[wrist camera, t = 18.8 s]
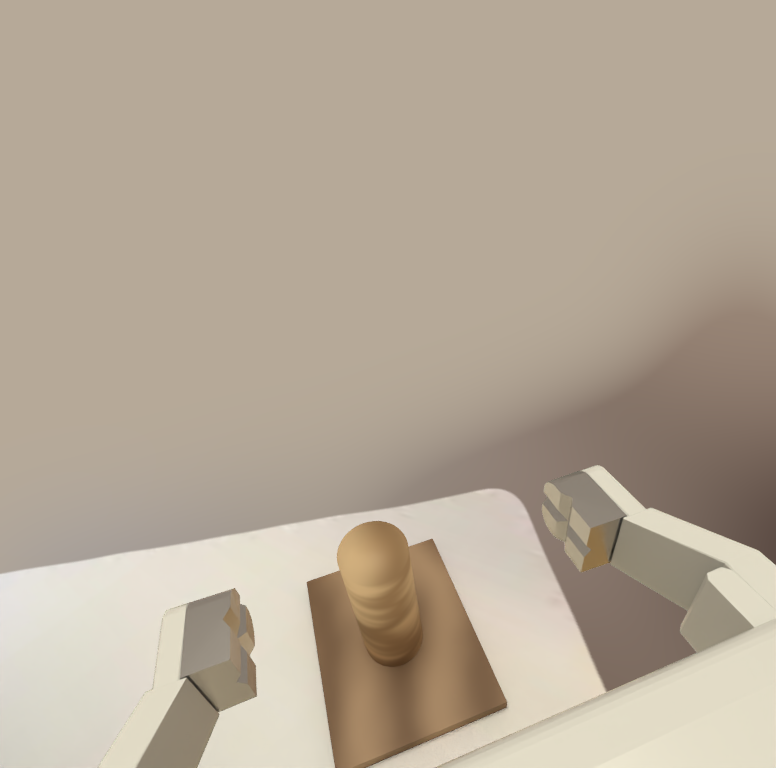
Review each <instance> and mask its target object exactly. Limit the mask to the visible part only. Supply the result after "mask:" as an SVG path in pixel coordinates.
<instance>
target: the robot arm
mask: <svg viewBox="0 0 776 768" xmlns="http://www.w3.org/2000/svg"><path fill="white" fill-rule="evenodd" d="M544 493H545V494H546V495H547V498H546V499H545V501H544V502H543V503H542V514H543V518H544V521H545V523H546V525H547V527H548V529H549V530H550V531H551V533H552V535H553V536H554V537H555V538H557V539H559V540H561V541H564V542H565V552H566V554H567V555H568V556H569V557H570V559H571V560H572V562H573V563H574V564H575V566H576V567H577V568H578V570H579V571H580V572H581V573H582V572H584V571H587V570H590V569H593V568H596V567H599V566H602V565H604V564H607V563H610V562H611V563H610V564H611V565H612V566H614V567H616V568H617V569H619V570H621V571H623V572H624V573H626V574H627V575H629V576H630V577H632V578H634V579H636V580H637V581H639V582H640V583H642V584H644V585H646V586H647V587H649V588H651V589H652V590H654V591H656V592H657V593H659V594H661V595H662V596H664V597H665V598H667V599H669V600H670V601H672V602H674V603H676V604H677V605H679V606H680V607H682V608H684V609H685V610H687V611H688V612H687V614H686V616H685V618H684V620H683V622H682V624H681V627H680V633H681V634H682V635H683V636H684V638H685V639H686V640H687V641H688V643H689V644H690V645H691V646H692V647H693V649H694V650H695V651H696V652H697V653H695V654H693V655H691V656H688V657H686V658H684V659H681V660H679V661H677V662H675V663H672V664H670V665H668V666H666V667H663V668H661V669H659V670H656V671H654V672H652V673H650V674H647V675H645V676H643V677H641V678H638V679H636V680H634V681H631V682H629V683H627V684H625V685H622V686H620V687H618V688H615V689H613V690H611V691H608V692H606V693H604V694H602V695H599V696H597V697H595V698H592V699H590V700H588V701H586V702H583V703H581V704H579V705H577V706H574V707H572V708H570V709H567V710H565V711H563V712H561V713H558V714H556V715H554V716H551V717H549V718H547V719H545V720H542V721H540V722H538V723H535V724H533V725H531V726H529V727H526V728H524V729H522V730H520V731H517V732H515V733H513V734H510V735H508V736H506V737H504V738H501V739H499V740H497V741H494V742H492V743H490V744H488V745H485V746H483V747H481V748H479V749H476V750H474V751H472V752H469V753H467V754H465V755H463V756H460V757H458V758H456V759H453V760H451V761H449V762H447V763H444V764H442V765H440V766H437V767H435V768H776V565H775V564H773V563H772V562H771V561H770V560H769V559H767V558H766V557H765V556H764V555H763V554H762V553H761V552H759V551H758V550H755V549H753V548H750V547H748V546H745V545H743V544H740V543H738V542H735V541H733V540H730V539H728V538H725V537H723V536H720V535H718V534H715V533H713V532H710V531H708V530H705V529H703V528H700V527H698V526H695V525H693V524H690V523H688V522H686V521H683V520H680V519H678V518H676V517H673V516H671V515H668V514H666V513H663V512H661V511H658V510H656V509H653V508H649V509H645V508H644V507H643V506H642V505H641V504H640V503H639V502H638V501H637V500H636V499H635V498H634V497H633V496H632V495H631V494H630V493H629V492H628V491H627V490H626V489H625V488H624V487H623V486H622V485H621V484H620V483H619V482H618V481H617V480H616V479H615V478H613V477H612V476H611V475H610V474H609V473H608V472H607V471H606V470H605V469H604V468H603V467H601V466H599V465H596V466H593V467H590V468H587V469H584V470H582V471H577V472H574V473H571V474H569V475H566V476H563V477H560V478H557V479H555V480H552V481H549V482H547V483H546V484H545V485H544ZM254 646H255V640H254V629H253V624H252V619H251V616H250V613H249V611H248V609H247V607H246V606H245V605H241V604H240V595H239V594H238V592H237V591H236V589H235V588H234V589H231V590H228V591H225V592H221V593H218V594H215V595H212V596H209V597H206V598H203V599H200V600H197V601H194V602H190V603H187V604H184V605H181V606H178V607H175V608H172V609H169V610H166V612H165V614H164V616H163V619H162V624H161V631H160V639H159V646H158V653H157V660H156V667H155V674H154V682H153V689H152V690H150V691H147V692H145V694H144V695H143V697H142V698H141V700H140V701H139V703H138V705H137V706H136V708H135V709H134V711H133V713H132V714H131V716H130V717H129V719H128V720H127V722H126V724H125V725H124V727H123V728H122V730H121V732H120V733H119V735H118V736H117V738H116V739H115V741H114V743H113V744H112V746H111V747H110V749H109V751H108V752H107V754H106V755H105V757H104V758H103V760H102V762H101V763H100V765H99V766H98V768H197V767H198V764H199V762H200V760H201V757H202V755H203V752H204V750H205V748H206V745H207V743H208V741H209V738H210V736H211V733H212V731H213V729H214V726H215V724H216V722H217V719H218V717H219V713H218V712H220V711H223V710H225V709H228V708H230V707H232V706H235V705H237V704H240V703H242V702H245V701H247V700H249V699H252V698H254V697H257V692H256V665H255V664H254V662H253V661H252V659H251V658H250V654H251V652H252V650H253V648H254Z"/></svg>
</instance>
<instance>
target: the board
mask: <svg viewBox="0 0 776 768" xmlns="http://www.w3.org/2000/svg"><path fill="white" fill-rule="evenodd" d="M408 548H409V554H410V560H411V566H412V572H413V578H414V584H415V590H416V596H417V602H418V608H419V614H420V620H421V626H422V632H423V637H422V643H421V646H420V649H419V651H418V652H417V654H416V655H415V656H414V657H413V659H411V660H410V661H409V662H407V663H406V664H404V665H401V666H397V667H387V666H383V665H381V664H379V663H377V662H376V661H374V660H373V659H372V658H371V656H370V655H369V653H368V652H367V649H366V647H365V644H364V641H363V638H362V635H361V632H360V629H359V626H358V623H357V620H356V617H355V614H354V611H353V608H352V605H351V602H350V599H349V596H348V593H347V590H346V587H345V584H344V581H343V578H342V575H341V572H340V571H337V572H334V573H331V574H328V575H326V576H323V577H320V578H317V579H314V580H311V581H308V582H307V587H308V593H309V600H310V606H311V613H312V619H313V626H314V632H315V639H316V645H317V652H318V658H319V665H320V671H321V678H322V684H323V691H324V697H325V704H326V710H327V717H328V723H329V730H330V736H331V743H332V749H333V756H334V762H335V768H365V767H368V766H370V765H372V764H375V763H377V762H379V761H382V760H384V759H386V758H389V757H391V756H393V755H396V754H398V753H400V752H403V751H405V750H407V749H410V748H412V747H415V746H417V745H419V744H422V743H424V742H426V741H429V740H431V739H433V738H436V737H438V736H440V735H443V734H445V733H447V732H450V731H452V730H454V729H457V728H459V727H461V726H464V725H466V724H468V723H471V722H473V721H476V720H478V719H480V718H483V717H485V716H487V715H490V714H492V713H494V712H497V711H499V710H501V709H504V708H506V707H507V701H506V699H505V697H504V695H503V692H502V690H501V688H500V686H499V684H498V681H497V679H496V677H495V675H494V673H493V670H492V668H491V666H490V664H489V662H488V659H487V657H486V655H485V653H484V651H483V648H482V646H481V644H480V642H479V640H478V638H477V635H476V633H475V631H474V629H473V627H472V624H471V622H470V620H469V618H468V616H467V613H466V611H465V609H464V607H463V605H462V602H461V600H460V598H459V596H458V594H457V591H456V589H455V587H454V585H453V583H452V580H451V578H450V576H449V574H448V572H447V570H446V567H445V565H444V563H443V561H442V559H441V556H440V554H439V552H438V550H437V548H436V545H435V543H434V541H433V539H430V540H427V541H424V542H421V543H418V544H416V545H413V546H410V547H408Z"/></svg>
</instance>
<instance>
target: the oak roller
mask: <svg viewBox="0 0 776 768" xmlns="http://www.w3.org/2000/svg"><path fill="white" fill-rule="evenodd" d="M337 562H338V566H339V569H340V572H341V575H342V578H343V581H344V584H345V587H346V590H347V593H348V596H349V599H350V602H351V605H352V608H353V611H354V614H355V617H356V620H357V623H358V626H359V629H360V632H361V635H362V638H363V641H364V644H365V647H366V649H367V652H368V653H369V655H370V656H371V658H372V659H373V660H374V661H376V662H377V663H379V664H381V665H383V666H387V667H397V666H401V665H404V664H406V663H407V662H409V661H410V660H411V659H413V657H414V656H415V655H416V654H417V652H418V651H419V649H420V646H421V643H422V637H423V632H422V626H421V620H420V614H419V608H418V602H417V596H416V590H415V584H414V578H413V572H412V566H411V560H410V554H409V548H408V543H407V540H406V537H405V536H404V534H403V533H402V532H401V530H400V529H398V528H397V527H396V526H394V525H392V524H390V523H387V522H382V521H372V522H367V523H363V524H361V525H358V526H357V527H355V528H353V529H352V530H351V531H349V532H348V533H347V534H346V535H345V537H344V538H343V539H342V541H341V543H340V545H339V548H338V552H337Z"/></svg>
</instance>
